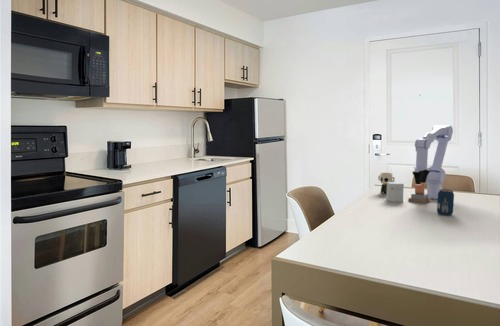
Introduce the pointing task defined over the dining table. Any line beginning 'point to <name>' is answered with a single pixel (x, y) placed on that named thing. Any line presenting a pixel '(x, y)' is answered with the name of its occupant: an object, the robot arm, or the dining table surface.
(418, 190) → the orange round piece
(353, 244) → the dining table surface
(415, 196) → the grey top slab
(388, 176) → the big headed toy figurine
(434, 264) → the dining table surface
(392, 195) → the small box
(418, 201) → the walnut base slab
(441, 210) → the soda can
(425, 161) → the robot arm
